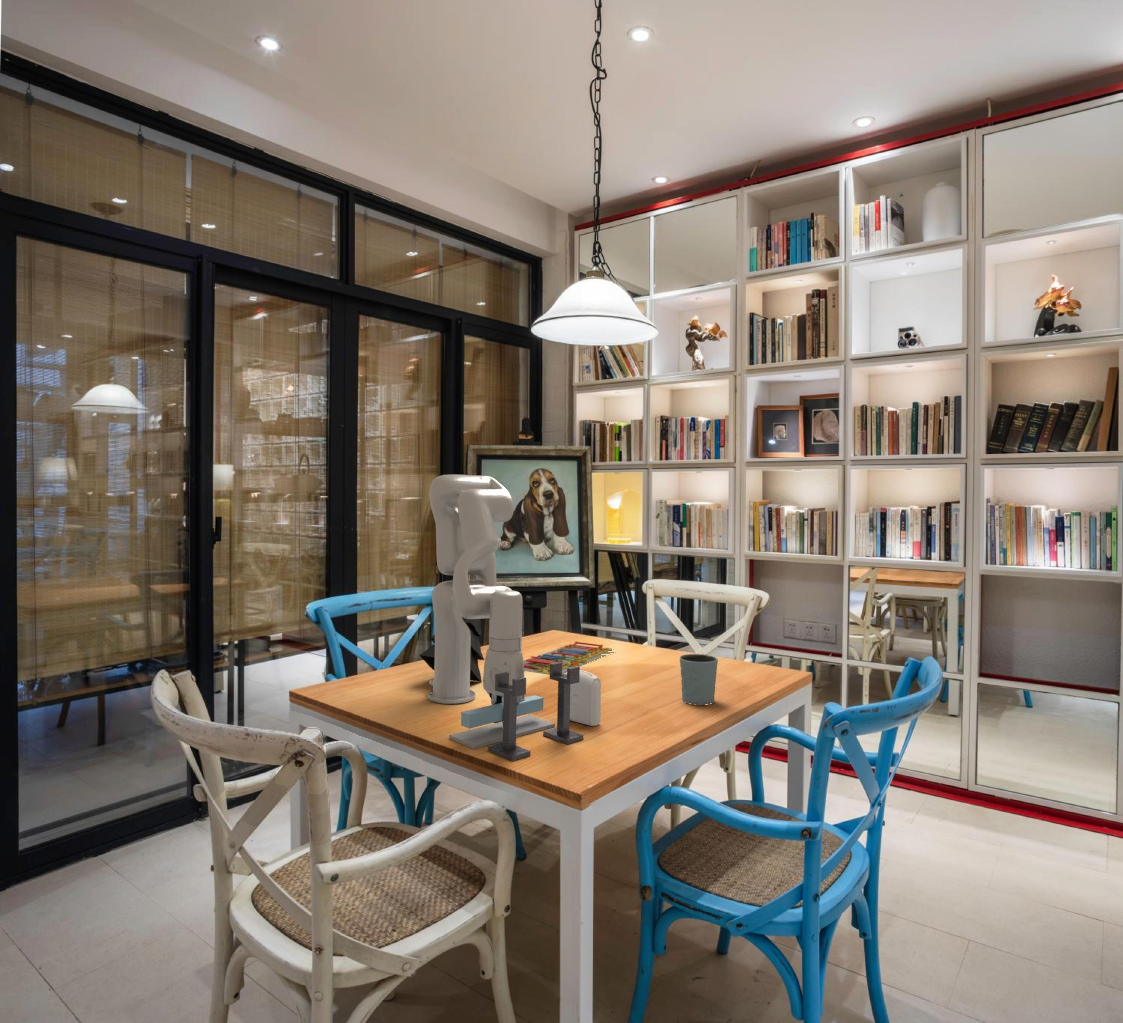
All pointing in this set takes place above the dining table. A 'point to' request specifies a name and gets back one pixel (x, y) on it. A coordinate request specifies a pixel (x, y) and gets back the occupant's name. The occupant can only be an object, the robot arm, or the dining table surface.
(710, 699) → the grey green cup
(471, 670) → the decorative tree
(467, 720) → the rail
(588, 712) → the photo printer
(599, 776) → the dining table surface
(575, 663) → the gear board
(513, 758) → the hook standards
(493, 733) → the felt mat
